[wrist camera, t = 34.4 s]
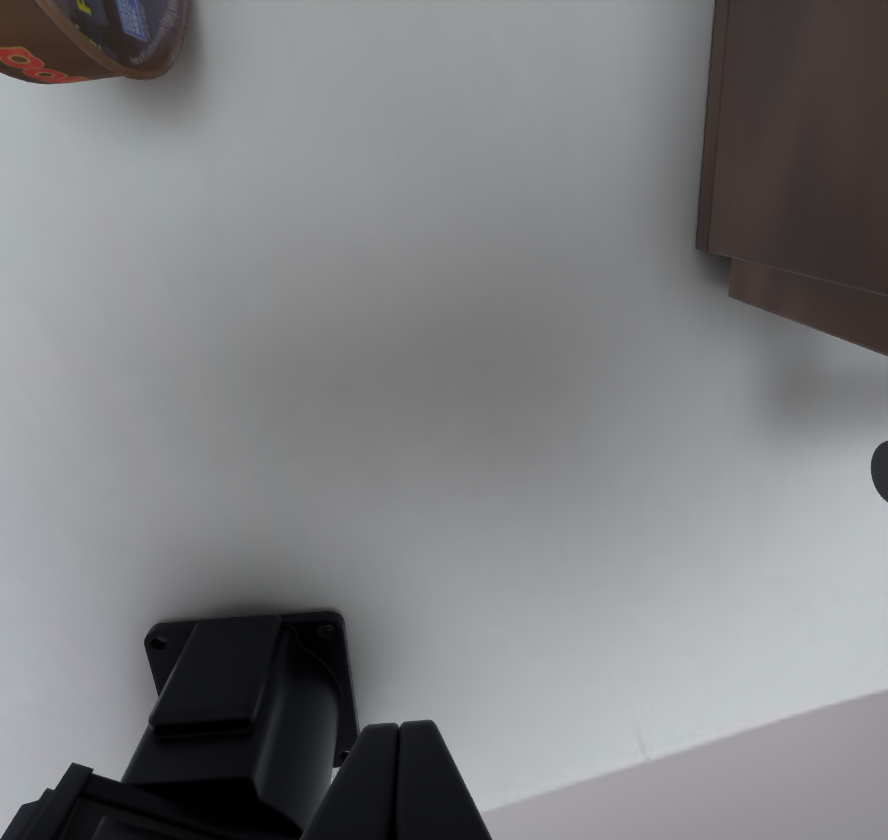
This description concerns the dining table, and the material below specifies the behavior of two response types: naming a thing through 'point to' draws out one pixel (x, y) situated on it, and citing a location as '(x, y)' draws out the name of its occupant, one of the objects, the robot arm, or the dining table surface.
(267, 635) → the robot arm
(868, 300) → the drawer
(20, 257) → the dining table surface
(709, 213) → the cabinet
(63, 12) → the tin
